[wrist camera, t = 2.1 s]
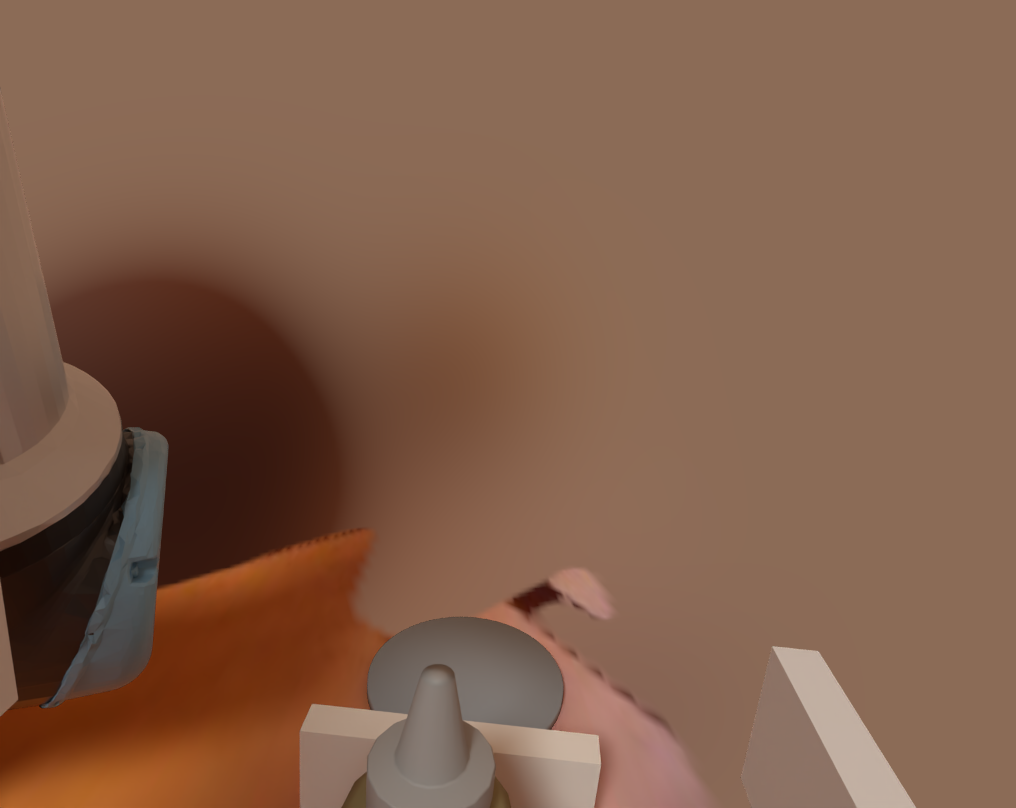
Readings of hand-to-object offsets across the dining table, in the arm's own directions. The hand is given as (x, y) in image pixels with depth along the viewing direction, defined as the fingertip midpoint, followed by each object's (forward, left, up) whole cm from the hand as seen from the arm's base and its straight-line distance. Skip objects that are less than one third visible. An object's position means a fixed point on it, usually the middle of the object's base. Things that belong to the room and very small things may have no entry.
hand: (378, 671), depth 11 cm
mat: (-24, +19, -26) cm, 40 cm away
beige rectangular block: (-15, +12, -26) cm, 33 cm away
